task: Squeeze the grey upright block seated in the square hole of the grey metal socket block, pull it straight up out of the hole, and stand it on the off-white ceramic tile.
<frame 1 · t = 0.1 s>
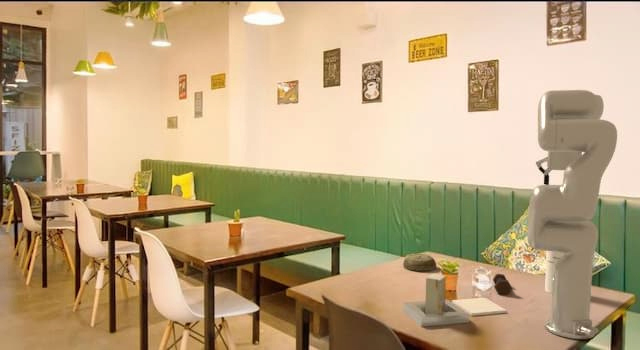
hand: (562, 187, 163), 37 cm above the table, tool pointing down, fingers open, 9 cm apart
cylindrical container: (556, 291, 170), on the table
socket block: (435, 316, 145), on the table
tile: (478, 307, 153), on the table
dark brown dumbbell: (501, 289, 173), on the table
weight: (419, 268, 200), on the table
grey upright block: (434, 317, 145), resting in socket block
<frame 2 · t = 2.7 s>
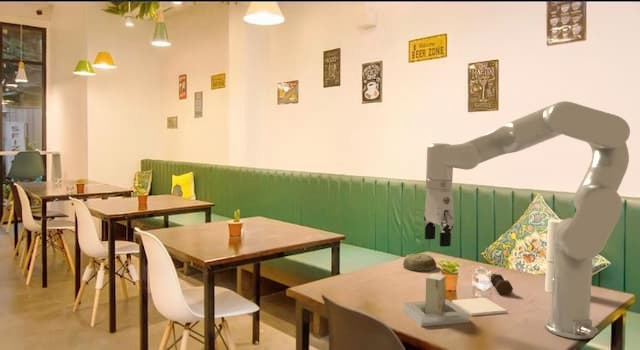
hand: (437, 242, 144), 23 cm above the table, tool pointing down, fingers open, 9 cm apart
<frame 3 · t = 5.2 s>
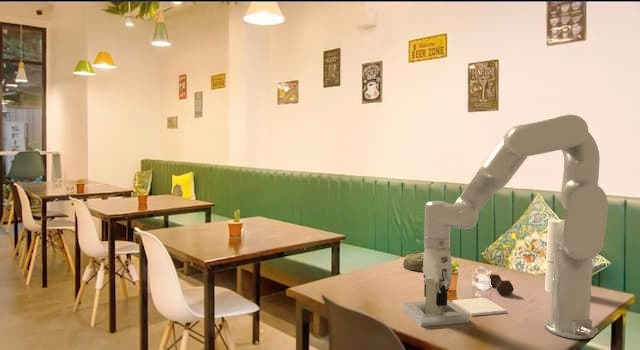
hand: (435, 300, 145), 5 cm above the table, tool pointing down, fingers closed on grey upright block, 7 cm apart
grey upright block: (434, 316, 145), resting in socket block, touching gripper
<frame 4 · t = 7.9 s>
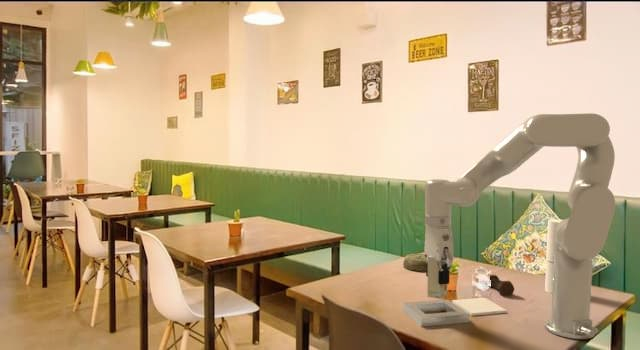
hand: (437, 279, 144), 11 cm above the table, tool pointing down, fingers closed on grey upright block, 7 cm apart
grey upright block: (437, 296, 145), point 6 cm above the table, touching gripper
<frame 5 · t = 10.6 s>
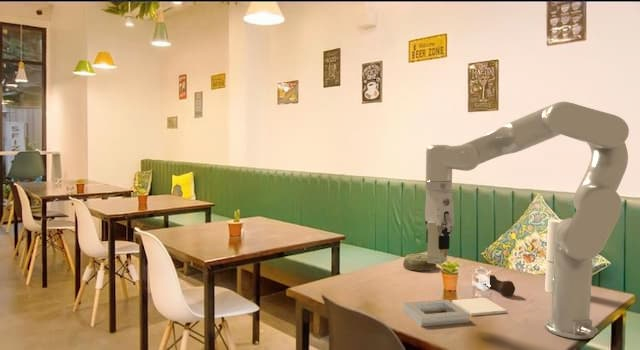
hand: (437, 245, 144), 22 cm above the table, tool pointing down, fingers closed on grey upright block, 7 cm apart
grey upright block: (437, 262, 144), point 17 cm above the table, touching gripper
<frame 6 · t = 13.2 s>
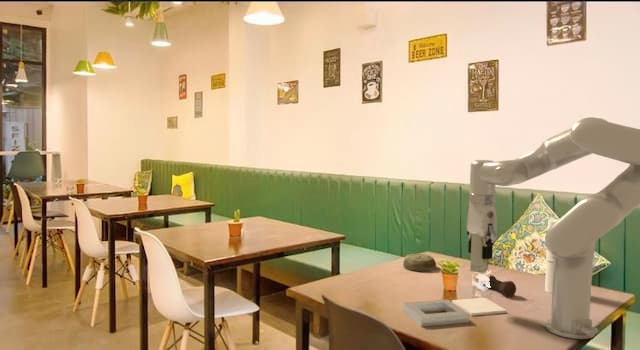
hand: (479, 255, 152), 17 cm above the table, tool pointing down, fingers closed on grey upright block, 7 cm apart
grey upright block: (479, 270, 152), point 12 cm above the table, touching gripper
when the fingers open (7 cm above the table, at t = 15.9 s): grey upright block drops 1 cm, resting on tile.
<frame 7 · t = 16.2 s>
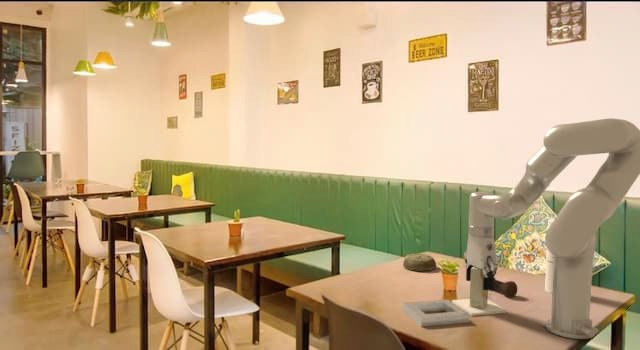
hand: (479, 285, 153), 7 cm above the table, tool pointing down, fingers open, 9 cm apart
grey upright block: (478, 305, 153), point 1 cm above the table, touching tile
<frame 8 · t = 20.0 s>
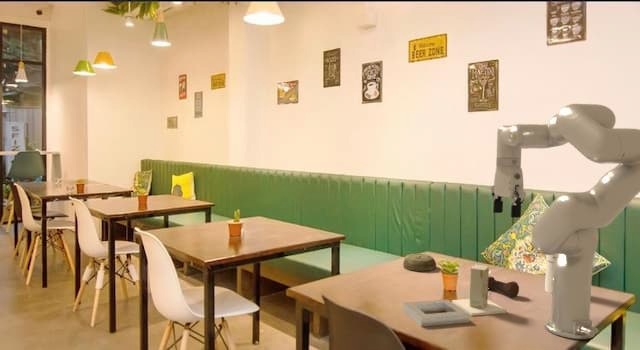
hand: (506, 214, 160), 28 cm above the table, tool pointing down, fingers open, 9 cm apart
at the end: grey upright block inside the target area on the tile (0.1 cm from its centre), point 0.6 cm above the tile's base; grey upright block tilted 0°; the gripper is holding nothing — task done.
